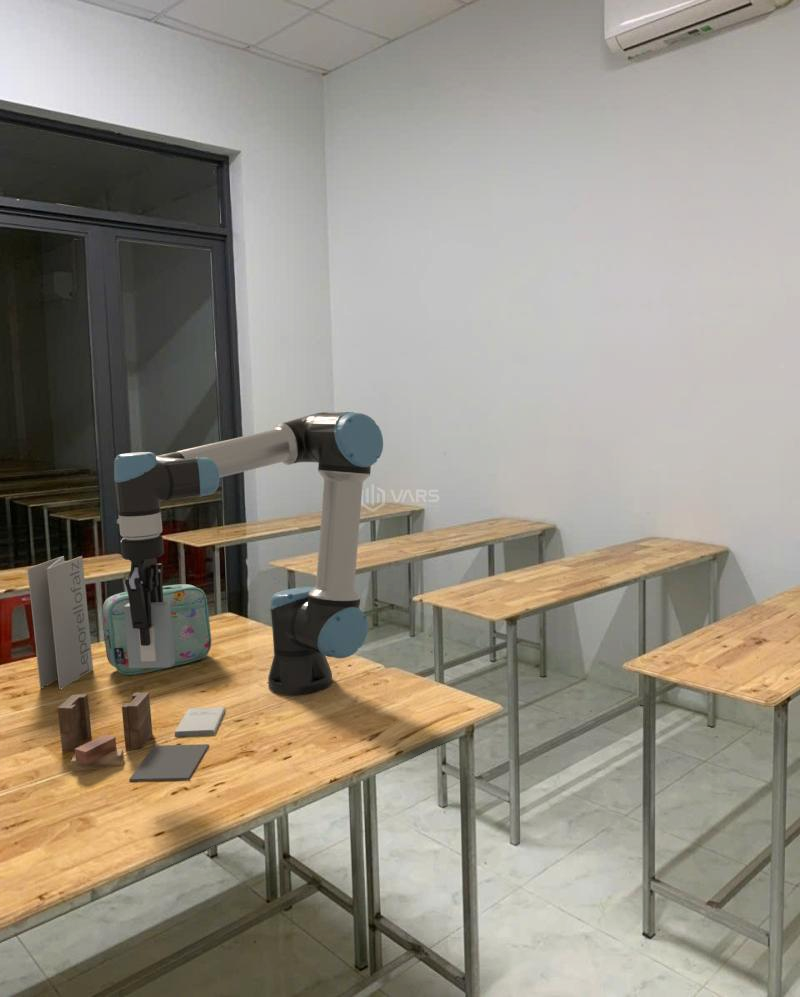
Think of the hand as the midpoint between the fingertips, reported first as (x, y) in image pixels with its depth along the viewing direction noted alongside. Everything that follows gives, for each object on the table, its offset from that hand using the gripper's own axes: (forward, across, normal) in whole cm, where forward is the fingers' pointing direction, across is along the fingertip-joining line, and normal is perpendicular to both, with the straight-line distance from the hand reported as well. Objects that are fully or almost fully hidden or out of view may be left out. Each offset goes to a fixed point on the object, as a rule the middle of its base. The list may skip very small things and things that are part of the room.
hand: (151, 657), depth 156 cm
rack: (+21, -8, -14) cm, 26 cm away
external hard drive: (+21, -17, +3) cm, 28 cm away
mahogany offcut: (+18, +2, -12) cm, 22 cm away
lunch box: (+21, -54, -20) cm, 61 cm away
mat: (+21, +1, +2) cm, 21 cm away
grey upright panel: (+2, 0, 0) cm, 2 cm away
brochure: (+21, -45, -40) cm, 64 cm away
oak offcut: (+21, +2, -12) cm, 24 cm away
